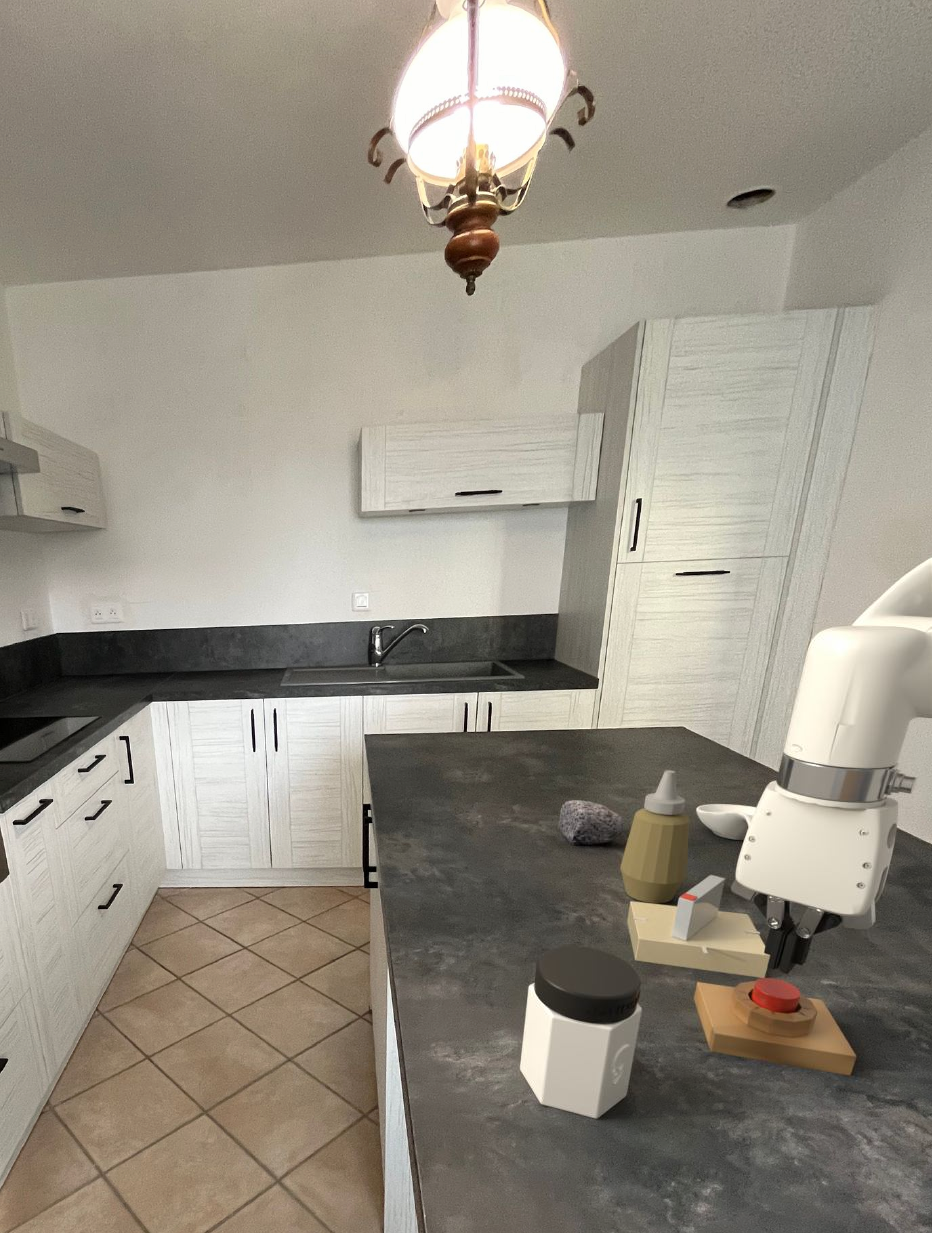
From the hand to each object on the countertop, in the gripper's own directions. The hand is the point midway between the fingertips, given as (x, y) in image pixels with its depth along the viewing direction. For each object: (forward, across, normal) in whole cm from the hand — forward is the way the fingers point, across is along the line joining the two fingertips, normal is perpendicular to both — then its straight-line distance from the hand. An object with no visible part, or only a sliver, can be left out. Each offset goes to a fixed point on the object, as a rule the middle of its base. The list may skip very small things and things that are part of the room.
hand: (782, 965), depth 64 cm
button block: (+8, 0, 0) cm, 8 cm away
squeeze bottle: (+8, +21, -23) cm, 32 cm away
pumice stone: (+8, +36, -36) cm, 52 cm away
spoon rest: (+8, +19, -50) cm, 54 cm away
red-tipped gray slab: (+5, +11, -12) cm, 17 cm away
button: (+4, 0, 0) cm, 4 cm away
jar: (+8, +9, +20) cm, 24 cm away
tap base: (+8, +11, -12) cm, 18 cm away
